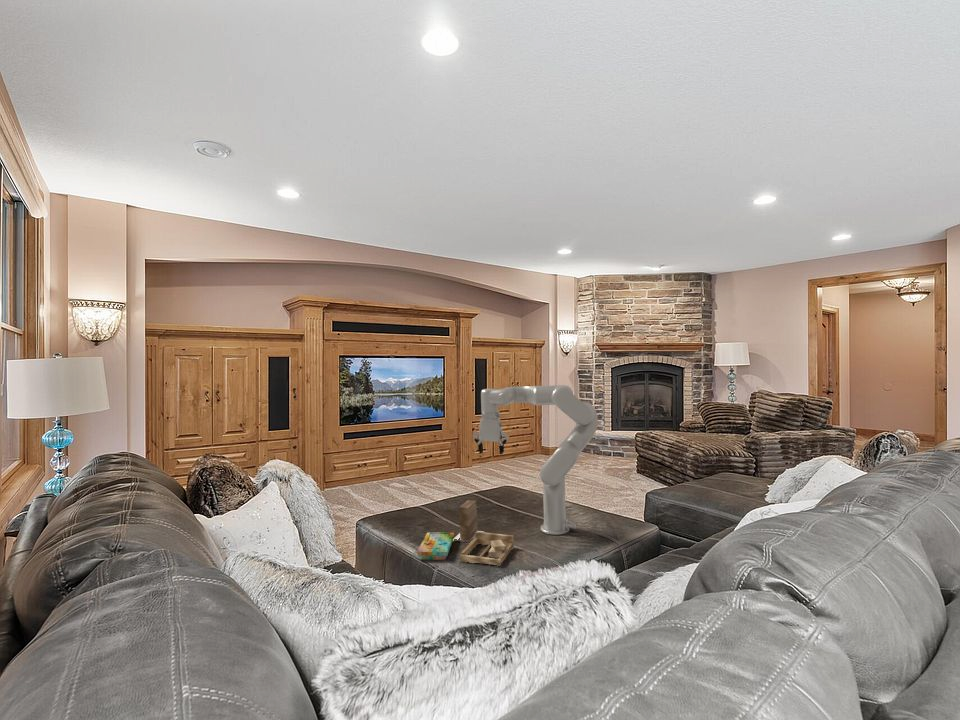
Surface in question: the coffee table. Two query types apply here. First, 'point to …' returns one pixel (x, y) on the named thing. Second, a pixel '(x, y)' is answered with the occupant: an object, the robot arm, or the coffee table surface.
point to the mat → (459, 536)
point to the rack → (486, 539)
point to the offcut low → (495, 554)
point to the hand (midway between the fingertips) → (491, 453)
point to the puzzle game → (435, 546)
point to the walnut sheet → (468, 520)
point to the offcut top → (497, 545)
